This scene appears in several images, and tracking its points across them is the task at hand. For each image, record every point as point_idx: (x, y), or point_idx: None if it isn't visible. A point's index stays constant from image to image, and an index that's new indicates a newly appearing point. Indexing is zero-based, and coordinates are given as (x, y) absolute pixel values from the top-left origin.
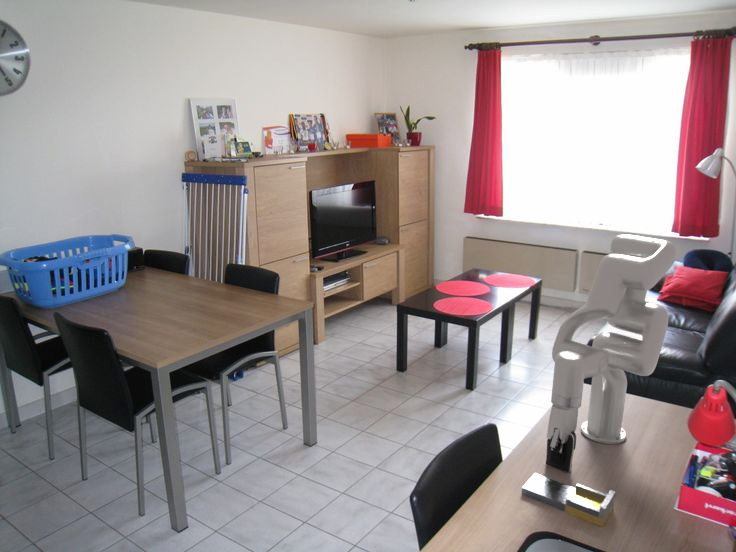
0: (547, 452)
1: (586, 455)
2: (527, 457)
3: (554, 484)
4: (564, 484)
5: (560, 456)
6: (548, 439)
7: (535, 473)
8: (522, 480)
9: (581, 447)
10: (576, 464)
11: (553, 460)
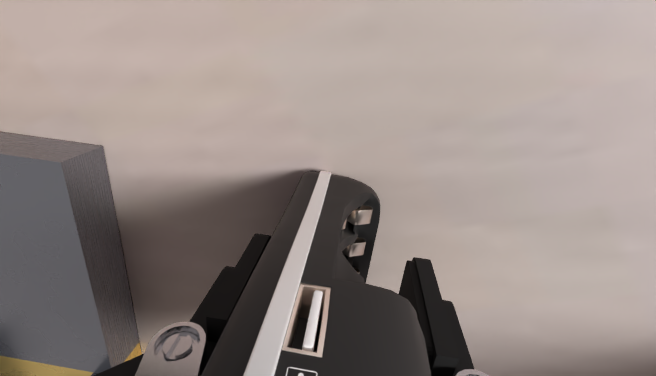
0: (277, 226)
1: (548, 351)
2: (336, 11)
3: (51, 289)
4: (97, 328)
5: None
6: (219, 341)
7: (57, 168)
8: (36, 80)
9: (652, 322)
10: None
11: (226, 272)
